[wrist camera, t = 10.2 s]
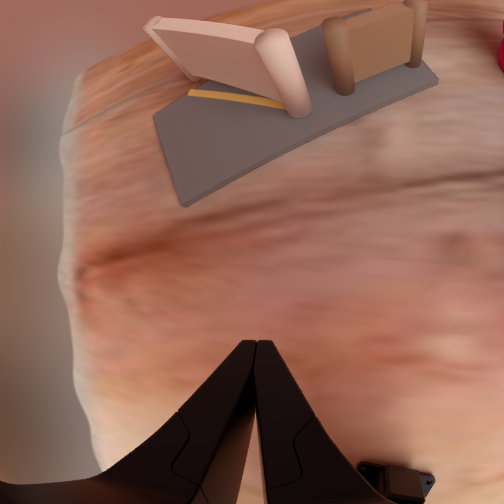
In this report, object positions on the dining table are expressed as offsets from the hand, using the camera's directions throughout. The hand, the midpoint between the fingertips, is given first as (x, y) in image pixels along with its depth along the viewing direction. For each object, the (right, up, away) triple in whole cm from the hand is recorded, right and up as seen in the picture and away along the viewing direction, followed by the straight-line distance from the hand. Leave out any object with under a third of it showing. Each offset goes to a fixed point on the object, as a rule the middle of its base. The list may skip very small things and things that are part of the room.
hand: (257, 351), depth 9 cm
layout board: (+3, +16, +15) cm, 22 cm away
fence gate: (-1, +16, +15) cm, 22 cm away
